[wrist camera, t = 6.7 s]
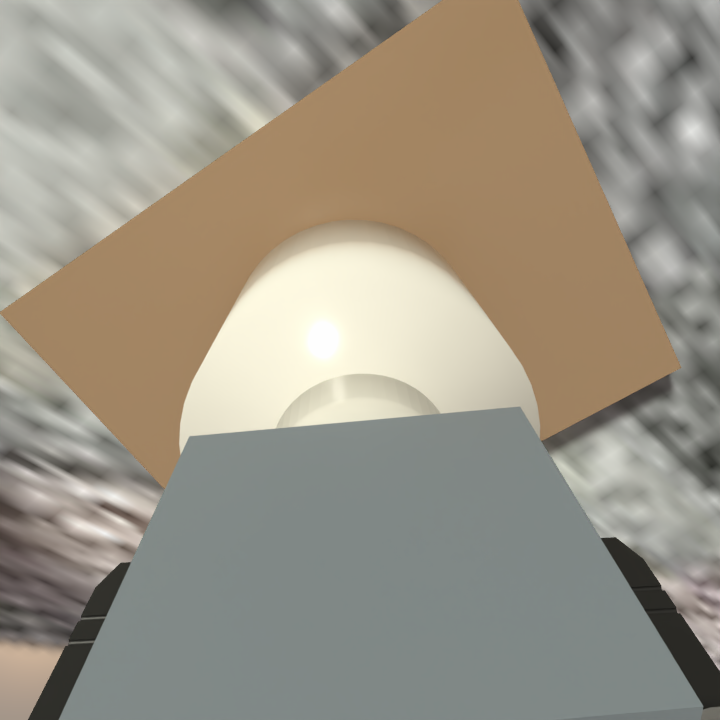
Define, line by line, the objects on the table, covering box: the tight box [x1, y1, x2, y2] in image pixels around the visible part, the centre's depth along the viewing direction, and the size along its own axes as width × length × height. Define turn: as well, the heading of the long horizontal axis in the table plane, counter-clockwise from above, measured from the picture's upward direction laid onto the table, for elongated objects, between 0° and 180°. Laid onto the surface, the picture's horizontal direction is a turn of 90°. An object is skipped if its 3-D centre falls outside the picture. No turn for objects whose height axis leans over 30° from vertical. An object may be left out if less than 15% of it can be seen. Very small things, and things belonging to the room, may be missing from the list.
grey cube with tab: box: [59, 407, 703, 720], centre depth 8 cm, size 5×5×6 cm
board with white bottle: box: [0, 0, 681, 489], centre depth 15 cm, size 18×14×11 cm
